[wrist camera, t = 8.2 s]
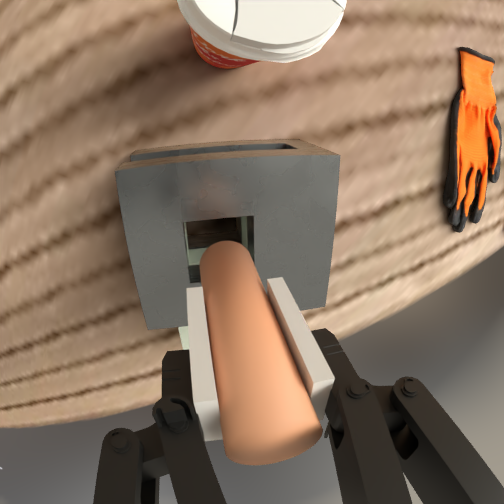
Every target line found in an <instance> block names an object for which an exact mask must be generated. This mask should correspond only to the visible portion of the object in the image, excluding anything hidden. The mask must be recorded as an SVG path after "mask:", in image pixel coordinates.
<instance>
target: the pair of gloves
mask: <svg viewBox="0 0 504 504" xmlns="http://www.w3.org/2000/svg"><path fill="white" fill-rule="evenodd" d="M459 52H460V55H461V76H462V81H463V87H464V88H462V89H460V91H459V92H458V94H457V96H456V97H455V100H454V102H453V106H452V112H451V140H450V164H449V171H448V175H447V180H446V186H445V190H444V195H443V203H444V205H445V206H446V207H448V208H452V210H451V212H450V215H449V217H448V221H449V223H450V224H452V225H453V229H454V231H456V232H459V233H460V232H462V231H463V229H464V227H465V223H466V220H467V217H468V213H469V208H470V206H471V204H472V202H473V200H474V198H475V195H476V194H478V197H477V201H476V204H475V206H474V208H473V210H472V213H471V215H470V221H471V222H473V223H478V222H479V220H480V218H481V215H482V212H483V209H484V205H485V201H486V200H485V199H486V189H487V181H488V177H489V180H490V181H491V182H492V183H496V182H497V180H498V178H499V173H500V152H501V146H502V135H501V126H500V123H499V121H498V119H497V116H496V110H497V107H496V97H495V94H494V90H493V87H492V84H491V75H492V73H493V72H494V71H493V65H494V64H495V61H494V60H493V59H492V58H491V57H488V56H485V55H482V54H480V53H478V52H477V51H474V50H472V49H470V48H465V47H459ZM488 169H489V173H488Z"/></svg>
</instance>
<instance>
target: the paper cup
mask: <svg viewBox="0 0 504 504" xmlns="http://www.w3.org/2000/svg"><path fill="white" fill-rule="evenodd" d="M346 1H347V0H177V2H178V5H179V8H180V11H181V13H182V14H183V16H184V18H185V20H186V21H187V23H188V24H189V26H190V31H191V35H192V40H193V43H194V46H195V49H196V51H197V53H198V54H199V56H200V57H201V58H202V59H203V60H204V61H206V62H207V63H209V64H211V65H213V66H215V67H219V68H225V69H231V68H238V67H242V66H245V65H249V64H252V63H255V62H259V61H272V62H280V63H287V62H292V61H297V60H300V59H302V58H305V57H308V56H310V55H312V54H314V53H316V52H318V51H319V50H320V49H321V48H322V46H323V45H324V44H325V43H326V42H327V40H328V39H329V38H330V37H331V36H332V35H333V34H334V32H335V31H336V29H337V27H338V26H339V24H340V21H341V19H342V16H343V12H344V9H345V6H346Z"/></svg>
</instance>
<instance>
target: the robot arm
mask: <svg viewBox="0 0 504 504" xmlns="http://www.w3.org/2000/svg"><path fill="white" fill-rule="evenodd" d="M267 296H268V299H269V301H270V304H271V306H272V308H273V311H274V313H275V316H276V318H277V321H278V323H279V325H280V328H281V330H282V333H283V335H284V337H285V340H286V342H287V345H288V347H289V349H290V352H291V354H292V357H293V359H294V362H295V364H296V366H297V369H298V371H299V374H300V376H301V378H302V381H303V383H304V386H305V388H306V390H307V393H308V395H309V398H310V400H311V402H312V405H313V407H314V410H315V412H316V414H317V417H318V419H319V421H320V420H323V418H324V415H325V413H326V415H327V418H328V420H329V422H328V425H327V428H326V431H325V436H324V437H325V438H327V437H328V434H329V438H330V443H331V447H332V452H333V457H334V461H335V466H336V471H337V476H338V481H339V486H340V490H341V496H342V501H343V504H412V501H411V497H410V494H409V491H408V488H407V484H406V481H405V478H404V475H403V473H404V474H405V475H406V477H407V479H408V480H409V482H410V484H411V485H412V486H413V488H414V490H415V491H416V493H417V494H418V496H419V498H420V499H421V501H422V502H423V504H504V488H503V486H502V485H501V483H500V482H499V481H498V479H497V478H496V477H495V475H494V474H493V473H492V471H491V470H490V468H489V467H488V466H487V464H486V463H485V462H484V460H483V459H482V458H481V457H480V455H479V454H478V452H477V451H476V450H475V449H474V448H473V446H472V445H471V443H470V442H469V441H468V439H467V438H466V437H465V436H464V434H463V433H462V432H461V431H460V429H459V428H458V427H457V425H456V424H455V423H454V422H453V420H452V419H451V418H450V417H449V415H448V414H447V413H446V412H445V411H444V409H443V408H442V407H441V405H440V404H439V403H438V402H437V401H436V399H435V398H434V397H433V396H432V395H431V393H430V392H429V391H428V390H427V389H426V387H425V386H424V385H423V384H422V383H421V382H420V381H419V380H418V379H415V378H413V377H402V378H400V379H399V380H397V381H396V383H395V385H394V386H373V385H371V384H370V383H369V382H367V381H366V380H364V379H361V378H360V377H359V376H358V375H357V373H356V372H355V370H354V368H353V366H352V364H351V363H350V361H349V359H348V358H347V356H346V354H345V353H344V352H343V349H342V348H341V346H340V345H339V342H338V341H337V339H336V337H335V335H334V334H332V333H331V332H330V331H328V330H327V329H326V328H324V329H319V330H314V331H310V329H309V327H308V325H307V323H306V321H305V319H304V317H303V315H302V313H301V312H300V310H299V308H298V306H297V304H296V302H295V300H294V298H293V296H292V294H291V292H290V291H289V289H288V287H287V285H286V283H285V281H284V279H283V277H279V278H271V279H267ZM187 314H188V334H189V349H187V350H177V351H167V353H166V355H165V356H164V358H163V360H162V398H161V399H160V400H159V401H157V402H156V403H155V405H154V407H153V412H152V415H153V417H154V419H155V421H156V423H154V424H153V425H152V426H150V427H148V428H146V429H143V430H139V431H136V432H133V431H131V430H130V429H125V428H117V429H114V430H112V431H110V432H109V433H108V434H107V435H106V436H105V438H104V440H103V443H102V449H101V455H100V460H99V466H98V473H97V479H96V486H95V494H94V503H93V504H159V479H160V477H161V476H164V475H166V474H170V477H171V481H172V485H173V489H174V492H175V496H176V499H177V502H178V504H226V501H225V498H224V496H223V494H222V491H221V488H220V485H219V483H218V480H217V478H216V475H215V473H214V470H213V467H212V464H211V461H210V458H209V455H208V452H207V450H206V447H205V441H211V440H220V439H223V437H222V431H221V425H220V410H219V404H218V398H217V392H216V385H215V378H214V372H213V365H212V358H211V351H210V343H209V336H208V328H207V320H206V312H205V303H204V296H203V287H194V288H187Z"/></svg>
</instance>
